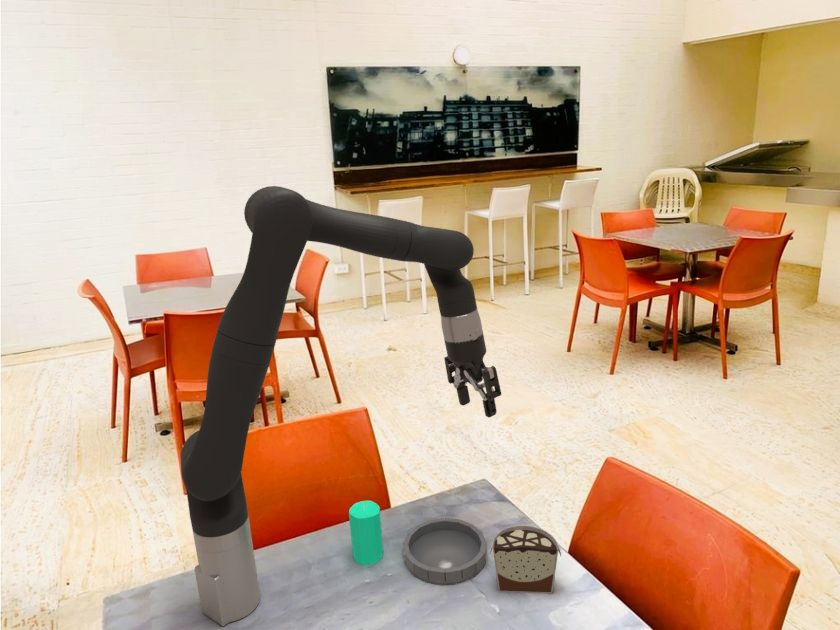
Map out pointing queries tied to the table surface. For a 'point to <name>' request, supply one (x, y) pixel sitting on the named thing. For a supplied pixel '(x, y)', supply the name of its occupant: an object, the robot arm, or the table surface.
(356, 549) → the candle
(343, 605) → the table surface
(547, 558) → the food container
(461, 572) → the plate
